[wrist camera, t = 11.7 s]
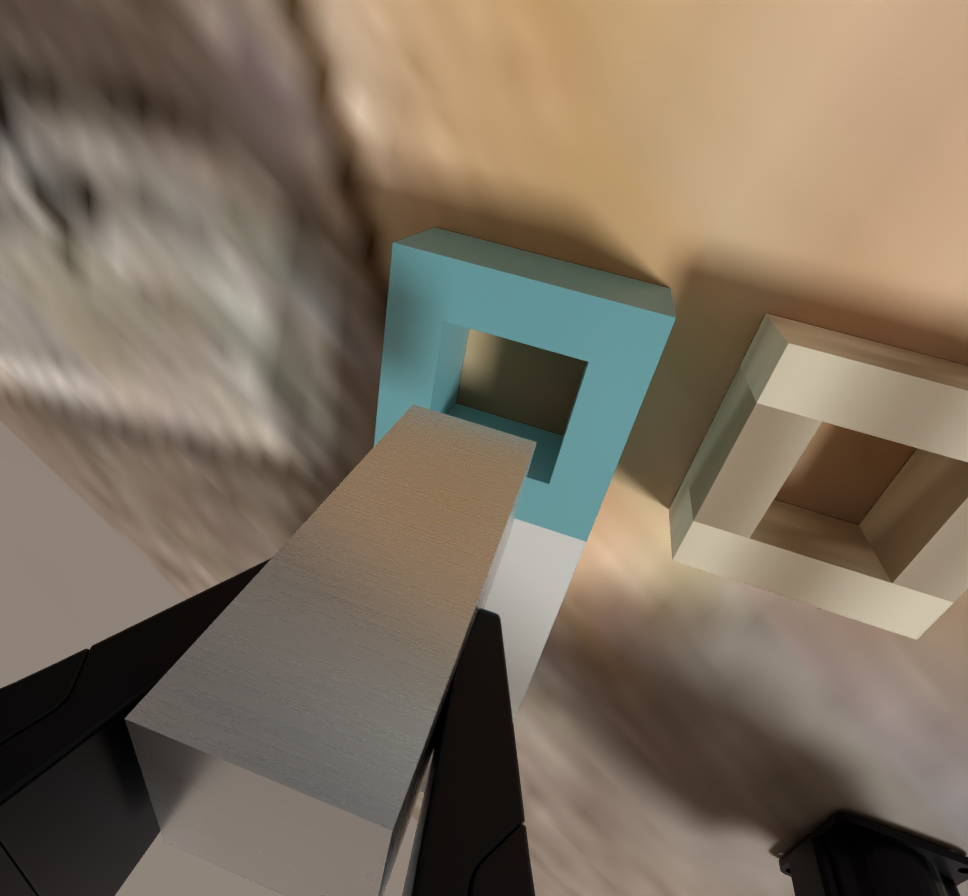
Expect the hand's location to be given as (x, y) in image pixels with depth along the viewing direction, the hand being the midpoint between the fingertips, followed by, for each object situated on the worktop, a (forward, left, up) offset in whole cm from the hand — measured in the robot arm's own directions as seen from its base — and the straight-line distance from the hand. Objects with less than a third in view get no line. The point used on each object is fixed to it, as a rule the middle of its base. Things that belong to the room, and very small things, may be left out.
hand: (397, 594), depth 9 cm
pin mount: (-11, 0, -12) cm, 16 cm away
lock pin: (0, 0, -4) cm, 4 cm away
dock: (0, +8, -12) cm, 14 cm away
